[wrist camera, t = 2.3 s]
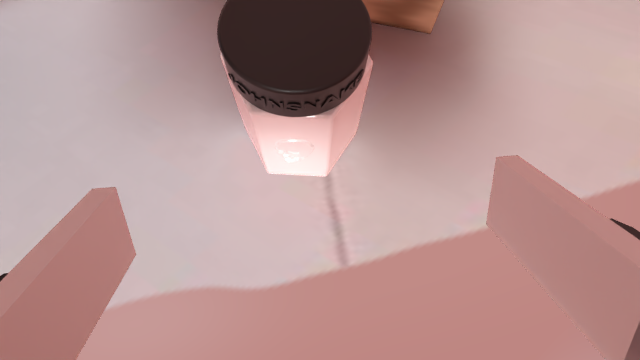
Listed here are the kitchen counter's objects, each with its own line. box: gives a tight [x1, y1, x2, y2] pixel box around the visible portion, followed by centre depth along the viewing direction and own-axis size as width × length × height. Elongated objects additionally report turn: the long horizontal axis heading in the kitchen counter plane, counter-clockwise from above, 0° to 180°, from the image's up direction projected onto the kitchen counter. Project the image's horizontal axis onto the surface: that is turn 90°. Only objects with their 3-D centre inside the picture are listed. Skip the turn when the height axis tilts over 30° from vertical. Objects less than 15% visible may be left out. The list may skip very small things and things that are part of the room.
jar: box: [217, 0, 373, 176], centre depth 26 cm, size 9×8×12 cm
